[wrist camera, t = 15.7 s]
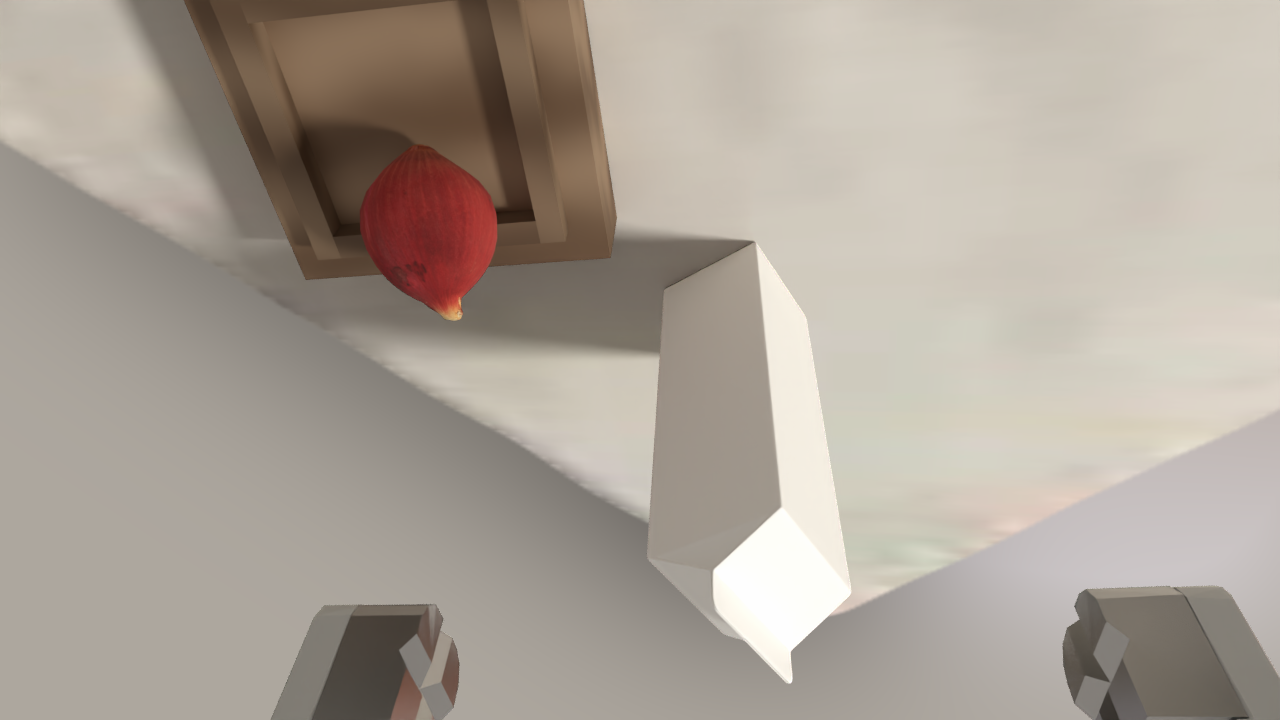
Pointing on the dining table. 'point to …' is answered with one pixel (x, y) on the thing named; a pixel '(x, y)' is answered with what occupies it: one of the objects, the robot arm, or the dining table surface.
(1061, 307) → the dining table surface
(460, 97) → the walnut pedestal
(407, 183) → the onion
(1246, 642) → the robot arm
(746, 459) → the milk
